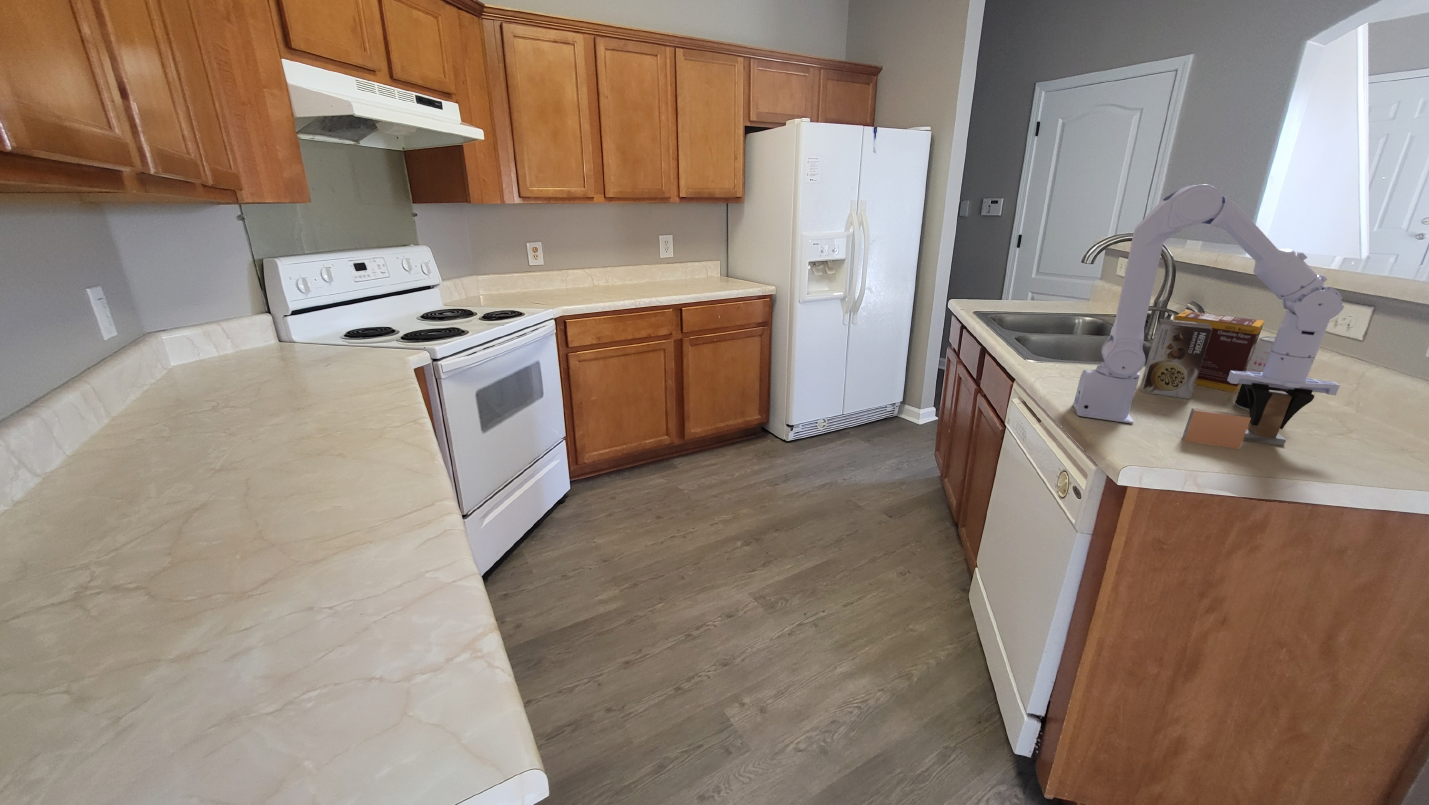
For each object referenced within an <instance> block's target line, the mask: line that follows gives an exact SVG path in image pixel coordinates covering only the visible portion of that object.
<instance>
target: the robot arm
mask: <svg viewBox="0 0 1429 805" xmlns="http://www.w3.org/2000/svg"><path fill="white" fill-rule="evenodd" d="M1198 224H1201V225H1206V226H1209V227H1212V228H1216V229H1220V230H1222V232H1223V233H1225V234H1226V235H1227V236H1228V237H1229V238H1230V239H1231V240H1232V241H1233V242H1234V243H1235V244H1237V246H1239V247H1240V248H1241V249H1242V250H1243V251H1244V252H1245V253H1246V254H1247V255H1249V257H1250V258H1252V259H1253V260H1254V262H1255V263H1254V267H1253V274H1254V275H1255V276H1256V277H1257V278H1258V279H1259V280H1260V281H1261V282H1262V283H1263V285H1265V287H1267V288H1268V289H1269V290H1270V291H1271V292H1272V294H1274V295H1275V296H1276V298H1278V299H1279V300H1281V302H1282V307H1283V309H1285V310H1286V311H1285V312H1284V316H1283V318H1282V321H1281V324H1280V325H1279V327H1278V329H1277V333H1276V335H1275V337H1276V338H1275V340H1274V343H1273V346H1272V348H1271V351H1270V354H1269V356H1268V359H1267V362H1266V364H1265V367H1264V370H1263V372H1242V371H1230V373H1229V376H1228V379H1227V381H1229V382H1230V383H1233V384H1238V383H1241V384H1245V388H1246V392H1247V395H1248V401H1249V411H1248V416H1249V417H1251V420H1250V422H1249V424H1250V423H1251V424H1252V425H1256V426H1257V425H1258V423H1259V421H1260V419H1261V416H1262V413H1263V410H1264V408H1265V406H1266V404H1267V402H1268V401H1269V399H1270V398H1271V396H1272V395H1273V394H1272V393H1271V392H1270V391H1269V390H1270V389H1268V387H1276V388H1283V392H1286V393H1287V394H1289V395H1290V396H1292V398H1291V401H1290V403H1289V406H1288V408H1287V411H1286V414H1285V416H1284V419H1283V421H1282V424H1281V426H1280V429H1279V430H1283V429H1284V428H1285V426H1286V425H1287V424H1288V422H1289V421H1290V420H1291V419H1292V418H1293V417H1294V416H1295V414H1296V413H1298V412H1299V411H1300V410H1301V409H1303V408H1304V407H1305V406H1307V405H1308V404H1310V403H1311V402H1313V400H1314V399H1315V394H1313V393H1321V394H1327V395H1330V396H1336V395H1337V393H1338V391H1339V388H1340V386H1341V385H1340V384H1339V383H1337V382H1335V381H1329V380H1323V379H1315V378H1309V377H1308V376H1309V375H1310V374H1309V373H1310V372H1311V369H1312V366H1313V365H1314V362H1315V359H1316V357H1317V355H1318V352H1319V349H1320V347H1321V344H1322V342H1323V339H1324V338H1325V335H1326V332H1327V328H1328V326H1329V324H1330V322H1331V320H1332V319H1334V318H1336V317H1337V316H1338V315H1340V314H1341V313H1342V311H1343V310H1344V308H1345V305H1343V301H1342V300H1343V297H1342V295H1341V293H1340V292H1339V291H1338V290H1337V289H1335V288H1334V287H1330V286H1327V285H1325V282H1326V281H1327V280H1328V278H1327V277H1326V276H1325V275H1324V274H1318V273H1317V272H1316V271H1315V270H1314V269H1313V268H1312V267H1311V266H1310V265H1309V264H1307V262H1306V261H1305V260H1306V259H1308V256H1307V255H1306V254H1305V253H1304V252H1303V251H1298V252H1296V251H1295V250H1293V249H1292V248H1278V247H1276V245H1274V243H1273V242H1272V241H1271V240H1270V239H1269V238H1268V236H1266V234H1265V233H1264V232H1263V231H1262V229H1260V228H1259V226H1257V225H1256V223H1255V222H1254V221H1253V220H1252V219H1251V218H1250V216H1248V214H1247V213H1245V211H1244V210H1243V209H1242V207H1240V206H1239V205H1237V203H1235V202H1234V201H1233V200H1232V199H1230V198H1229V197H1228V196H1226V195H1222V193H1221V192H1220V190H1219V189H1218V188H1216V187H1215V186H1213V185H1210V184H1207V183H1205V184H1203V183H1202V184H1195V185H1194V184H1193V185H1192V184H1191V185H1184V186H1181V187H1180V188H1178V189H1176V190H1174V191H1173V192H1171V193H1169V194H1167V195H1165V196H1164V197H1162V198H1161V199H1160V201H1159V202H1158V204H1157V205H1155V207H1154V208H1153V209H1152V210H1150V211H1149V213H1148V214H1147V215H1146V216H1145V217H1144V218H1143V219H1142V220H1141V221H1140V222H1139V223H1138V224H1137V226H1136V227H1135V228H1134V230H1133V234H1132V238H1131V239H1132V240H1131V242H1130V247H1129V248H1130V249H1129V252H1128V257H1127V263H1126V267H1125V272H1124V277H1123V282H1122V287H1121V291H1120V296H1119V302H1118V306H1117V311H1116V315H1115V319H1114V323H1113V325H1112V328H1111V330H1110V334H1109V337H1108V338H1107V340H1106V341H1105V342H1104V343H1103V344H1102V347H1101V350H1100V351H1101V352H1100V353H1101V356H1102V359H1103V361H1102V362H1101V363H1099V365H1096V369H1083V370H1082V372H1081V374H1080V377H1079V380H1078V385H1077V389H1076V392H1075V396H1074V400H1073V402H1072V405H1073V407H1074V410H1075V412H1076V415H1077V416H1079V417H1084V418H1091V419H1098V420H1104V421H1111V422H1118V423H1119V422H1120V423H1126V424H1134V422H1135V421H1134V419H1133V418H1132V417H1131V415H1130V410H1131V407H1132V404H1133V399H1134V397H1135V393H1136V389H1137V386H1138V383H1139V380H1140V376H1141V373H1140V371H1141V370H1142V369H1143V368H1144V366H1145V365H1146V355H1145V353H1144V349H1143V344H1144V342H1145V341H1144V340H1145V325H1146V321H1147V316H1148V313H1149V308H1150V303H1151V299H1152V296H1153V290H1154V285H1155V282H1156V277H1157V272H1158V268H1159V264H1160V259H1161V255H1162V252H1163V251H1162V250H1163V247H1164V246H1163V245H1164V242H1165V241H1167V240H1169V239H1170V238H1172V237H1173V236H1175V235H1176V234H1178V233H1180V232H1181V231H1182V230H1184V229H1187V228H1190V227H1192V226H1196V225H1198Z"/></svg>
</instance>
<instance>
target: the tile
mask: <svg viewBox="0 0 1429 805" xmlns="http://www.w3.org/2000/svg"><path fill="white" fill-rule="evenodd" d="M1250 420H1251V417H1249V414H1244V413H1243V414H1241V413H1237V412H1236V413H1235V412H1227V411H1220V410H1214V409H1213V410H1212V409H1206V408H1205V409H1204V408H1197V407H1191V410H1190V413H1189V416H1188V419H1187V422H1186V425H1185V428H1184V430H1183V434H1182V437H1181V438H1182V439H1183V441H1184V442H1191V443H1197V444H1202V445H1203V444H1204V445H1205V444H1206V445H1211V446H1216V447H1217V446H1218V447H1224V448H1231V449H1236V450H1237V449H1238V450H1240V448H1241V446H1242V444H1243V441H1244V440H1243V438H1244V436H1245V433H1246V430H1247V429H1249V426H1250V423H1249V422H1250Z"/></svg>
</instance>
